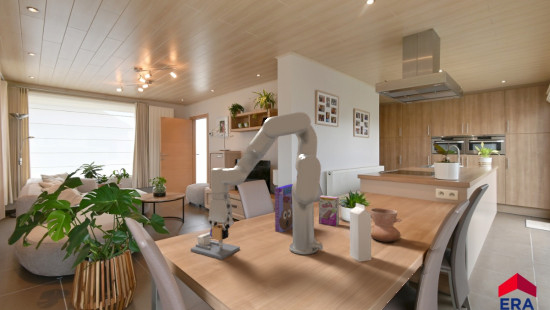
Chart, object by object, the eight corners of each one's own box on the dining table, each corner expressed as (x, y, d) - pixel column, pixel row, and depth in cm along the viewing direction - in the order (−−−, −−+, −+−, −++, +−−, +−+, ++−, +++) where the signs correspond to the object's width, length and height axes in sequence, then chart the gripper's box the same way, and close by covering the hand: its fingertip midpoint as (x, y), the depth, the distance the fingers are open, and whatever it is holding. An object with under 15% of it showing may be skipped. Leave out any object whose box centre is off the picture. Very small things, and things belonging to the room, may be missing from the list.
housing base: (239, 249, 112) (239, 237, 112) (221, 259, 101) (221, 247, 101) (210, 242, 121) (210, 231, 121) (190, 251, 110) (190, 239, 110)
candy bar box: (318, 223, 149) (318, 196, 149) (321, 221, 153) (321, 195, 153) (336, 226, 143) (336, 198, 143) (339, 224, 147) (339, 196, 147)
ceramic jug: (408, 240, 121) (407, 210, 121) (394, 247, 111) (394, 215, 112) (373, 231, 135) (372, 205, 135) (358, 237, 125) (358, 209, 125)
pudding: (225, 239, 126) (225, 228, 126) (202, 239, 126) (202, 228, 126) (230, 231, 138) (230, 222, 138) (209, 231, 138) (209, 222, 138)
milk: (358, 262, 98) (358, 206, 97) (349, 255, 104) (349, 203, 103) (371, 259, 100) (371, 205, 99) (362, 253, 105) (361, 202, 105)
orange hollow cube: (228, 236, 110) (228, 225, 110) (220, 240, 106) (220, 228, 106) (219, 235, 113) (219, 224, 113) (211, 238, 108) (211, 227, 108)
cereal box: (282, 232, 134) (282, 188, 133) (275, 231, 136) (274, 187, 136) (297, 224, 149) (296, 184, 148) (290, 223, 151) (289, 183, 151)
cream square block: (210, 243, 115) (210, 234, 115) (203, 246, 112) (203, 236, 112) (204, 242, 117) (204, 232, 117) (197, 245, 114) (197, 235, 114)
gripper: (240, 196, 108) (240, 237, 108) (211, 193, 116) (212, 231, 117) (229, 199, 101) (229, 243, 102) (199, 195, 110) (199, 236, 110)
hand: (220, 236), depth 109 cm, fingers closed on orange hollow cube, 5 cm apart
